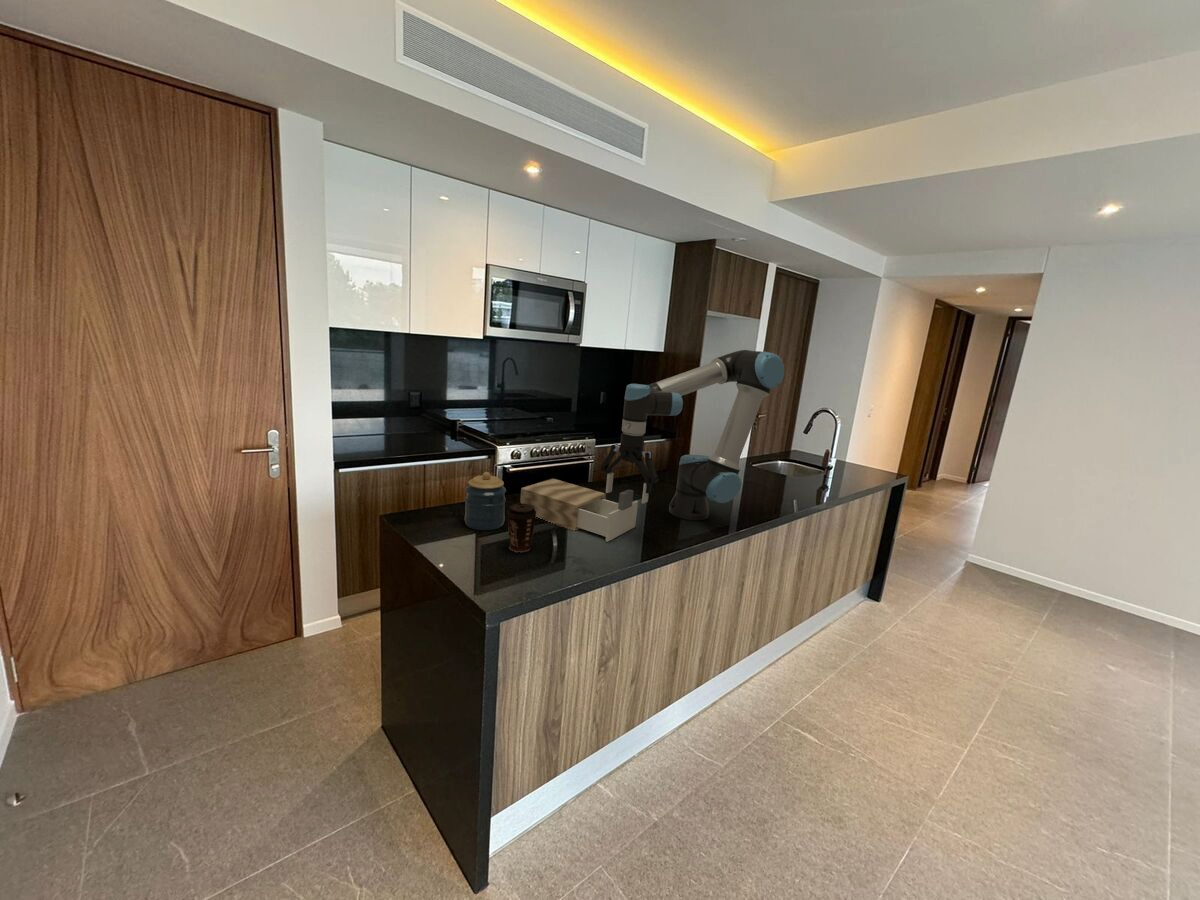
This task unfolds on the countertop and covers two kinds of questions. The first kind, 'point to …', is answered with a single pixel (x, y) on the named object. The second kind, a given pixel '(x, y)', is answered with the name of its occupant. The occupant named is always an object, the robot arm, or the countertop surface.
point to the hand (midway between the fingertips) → (626, 497)
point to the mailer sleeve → (558, 501)
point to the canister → (485, 503)
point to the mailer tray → (608, 516)
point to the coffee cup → (521, 526)
